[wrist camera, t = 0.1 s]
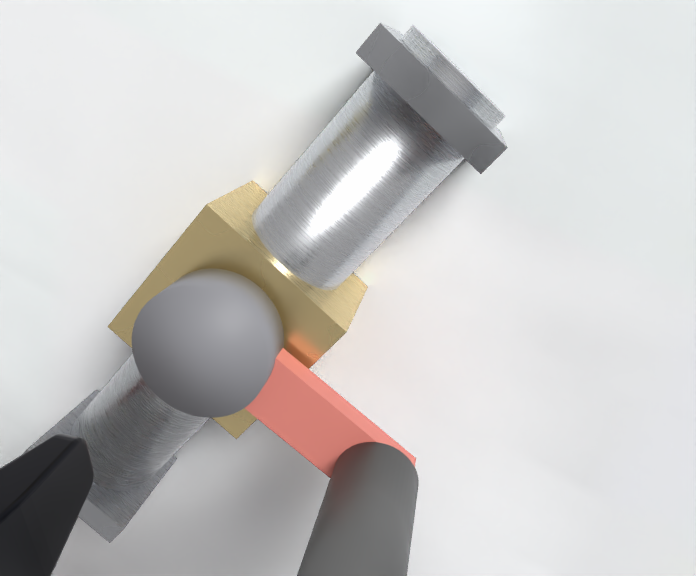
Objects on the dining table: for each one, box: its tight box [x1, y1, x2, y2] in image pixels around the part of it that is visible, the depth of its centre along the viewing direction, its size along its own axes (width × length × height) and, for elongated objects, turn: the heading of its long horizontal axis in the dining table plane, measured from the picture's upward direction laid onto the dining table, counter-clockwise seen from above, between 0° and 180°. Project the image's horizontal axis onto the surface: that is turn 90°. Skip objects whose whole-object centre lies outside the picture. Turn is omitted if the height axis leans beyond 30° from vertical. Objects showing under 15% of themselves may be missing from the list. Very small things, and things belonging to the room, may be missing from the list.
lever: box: [132, 268, 418, 576], centre depth 17 cm, size 11×4×8 cm, turn 51°
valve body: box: [24, 23, 507, 543], centre depth 23 cm, size 22×6×5 cm, turn 138°
